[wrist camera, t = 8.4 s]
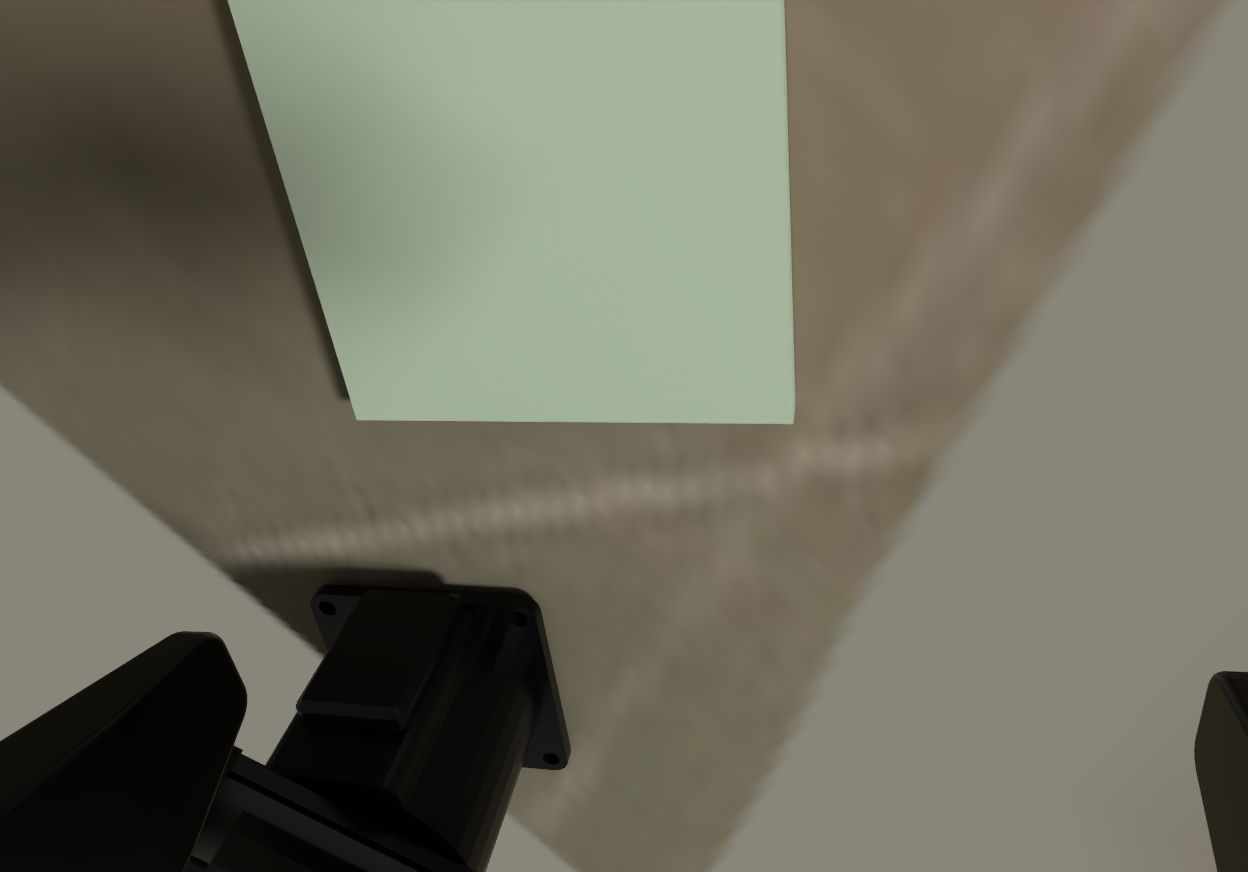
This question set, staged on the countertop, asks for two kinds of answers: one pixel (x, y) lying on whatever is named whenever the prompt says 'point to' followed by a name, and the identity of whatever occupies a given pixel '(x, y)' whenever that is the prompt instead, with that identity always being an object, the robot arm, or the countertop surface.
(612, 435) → the countertop surface
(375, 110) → the mat
